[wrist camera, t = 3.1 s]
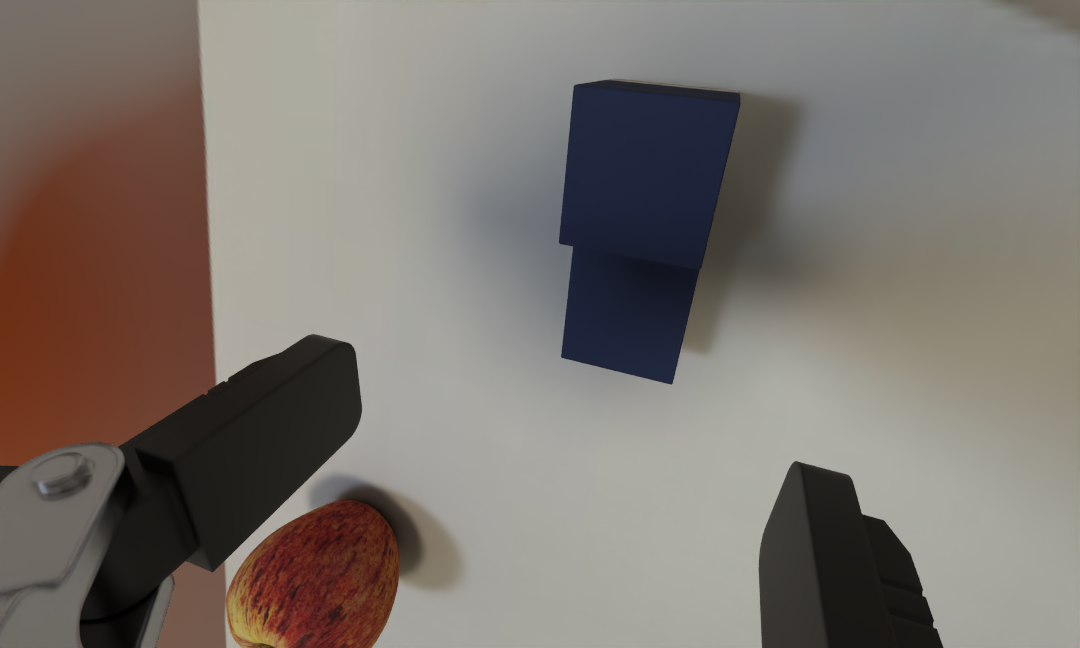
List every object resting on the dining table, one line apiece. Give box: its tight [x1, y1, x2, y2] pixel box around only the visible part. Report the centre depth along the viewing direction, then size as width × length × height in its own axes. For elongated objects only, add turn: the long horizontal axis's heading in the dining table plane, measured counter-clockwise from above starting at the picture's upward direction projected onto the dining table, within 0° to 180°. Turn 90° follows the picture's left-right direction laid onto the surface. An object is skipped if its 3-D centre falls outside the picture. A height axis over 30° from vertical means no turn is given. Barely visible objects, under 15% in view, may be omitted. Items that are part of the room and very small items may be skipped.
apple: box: [226, 500, 400, 648], centre depth 31 cm, size 9×9×10 cm
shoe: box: [559, 79, 740, 384], centre depth 18 cm, size 10×4×5 cm, turn 175°
